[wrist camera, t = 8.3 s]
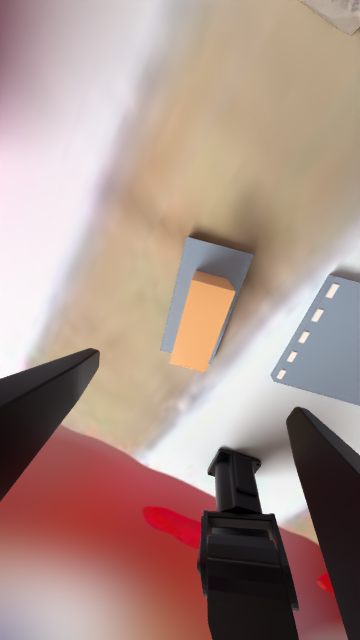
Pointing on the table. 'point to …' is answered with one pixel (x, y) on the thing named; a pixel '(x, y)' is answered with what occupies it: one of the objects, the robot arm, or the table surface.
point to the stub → (203, 302)
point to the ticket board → (326, 345)
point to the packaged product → (337, 13)
